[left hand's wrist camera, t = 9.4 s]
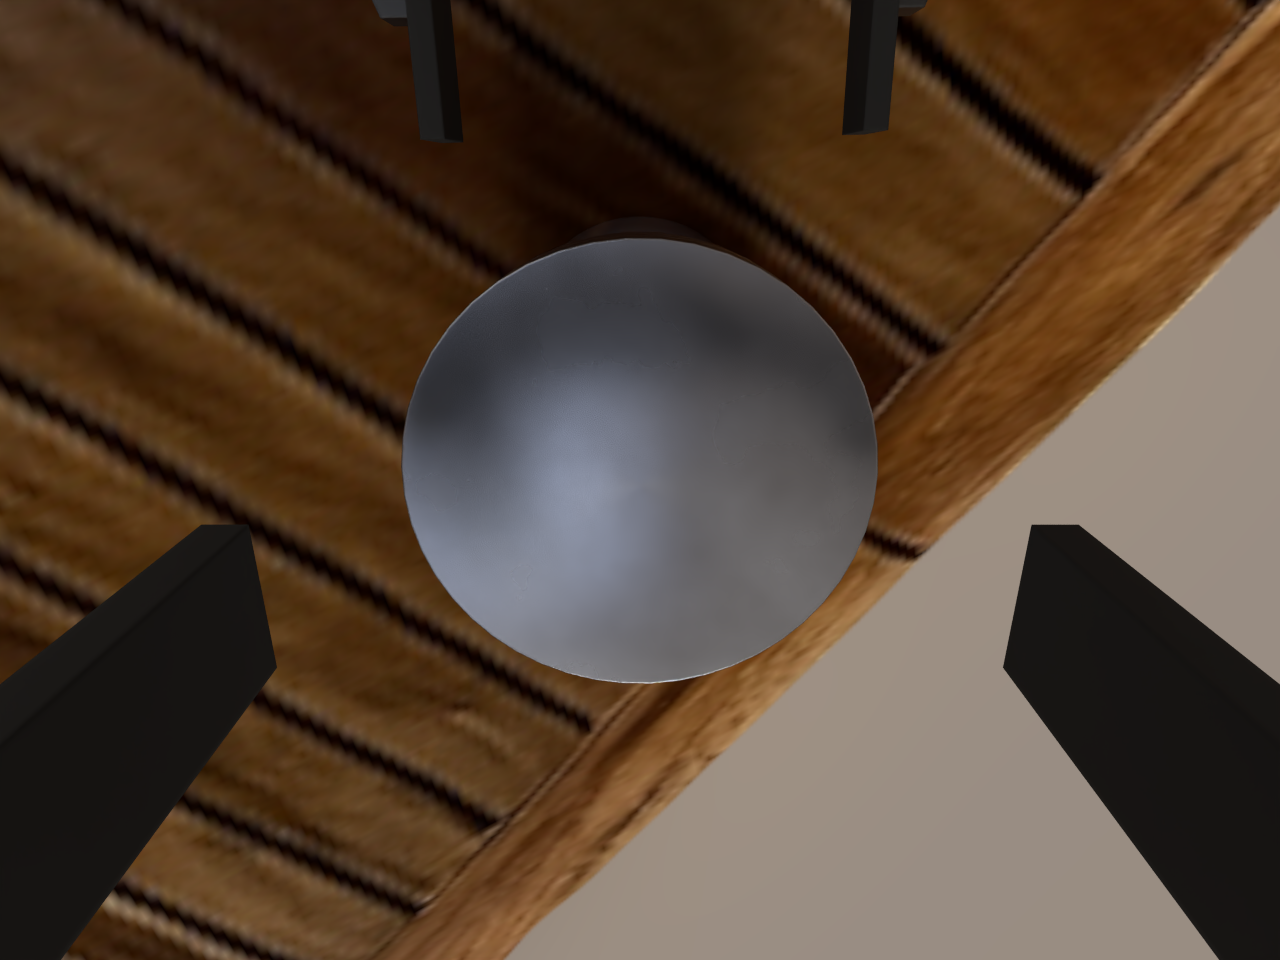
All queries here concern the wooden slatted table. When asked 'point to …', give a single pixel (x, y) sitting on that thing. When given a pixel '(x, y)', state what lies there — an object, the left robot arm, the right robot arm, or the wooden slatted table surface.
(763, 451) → the lid
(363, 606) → the wooden slatted table surface
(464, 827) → the wooden slatted table surface
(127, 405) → the wooden slatted table surface
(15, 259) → the wooden slatted table surface
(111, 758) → the left robot arm
